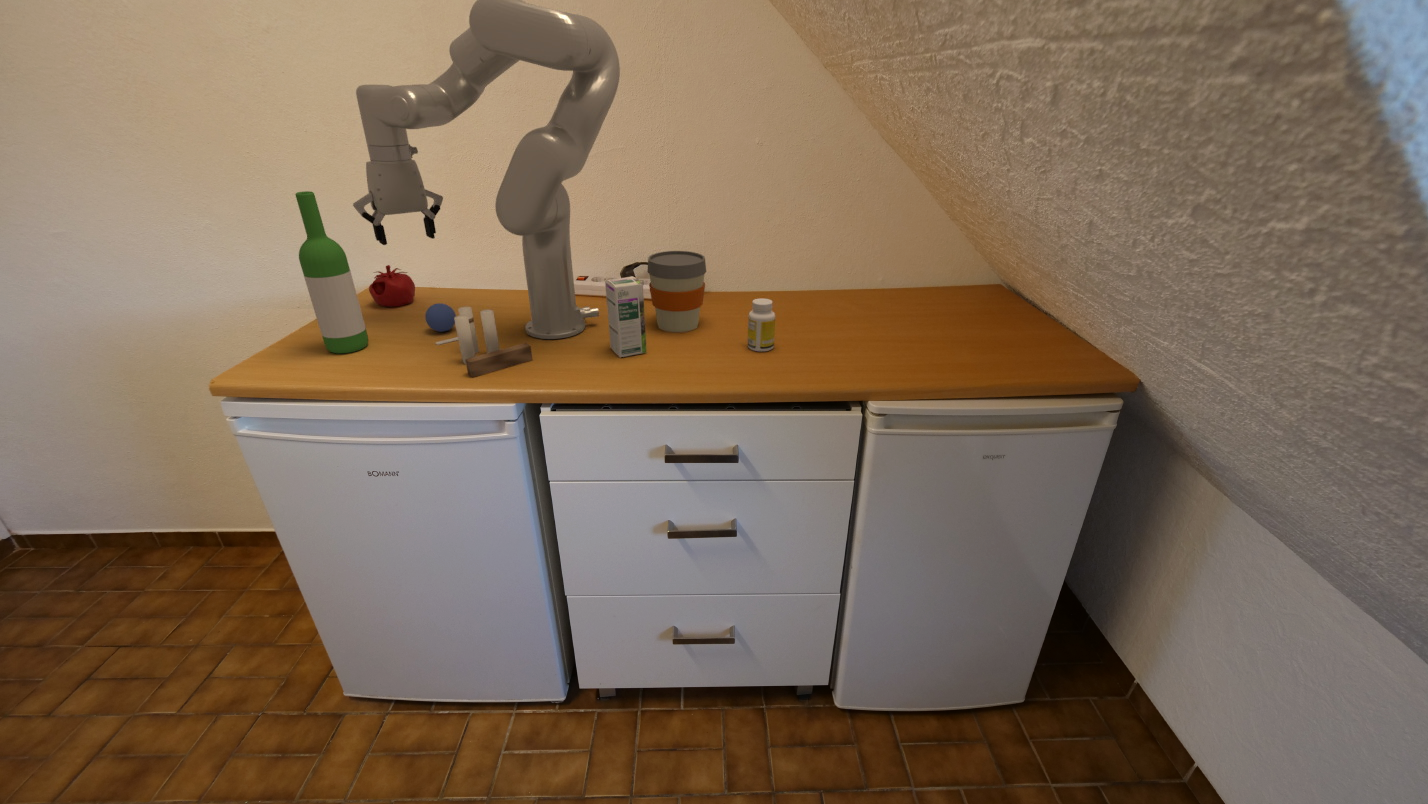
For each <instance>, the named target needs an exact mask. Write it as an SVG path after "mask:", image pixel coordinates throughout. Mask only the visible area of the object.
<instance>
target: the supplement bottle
mask: <svg viewBox="0 0 1428 804" xmlns="http://www.w3.org/2000/svg"><path fill="white" fill-rule="evenodd" d="M773 303H774V302H773V300H772V299H769V298H755V299H753V300H752V305H751V307H752V310H750V312H749V313H748V317H747V319H748V321H747V323H748V324H747V347H748V349H750V350H751V351H755V352H763V353H764V352H768V351H772V350H773V349H774V346H775V332H776V331H775V330H776V313H775V312H774V311H773Z"/></svg>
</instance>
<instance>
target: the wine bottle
mask: <svg viewBox="0 0 1428 804" xmlns="http://www.w3.org/2000/svg"><path fill="white" fill-rule="evenodd" d="M294 195H295V198H296V202H297V205H298V208H299V213H300V216H301V218H302V219H301V220H302V223H303V226H304V229H305V233H306V239H305V241H304V242H303V243H302V244H301V246H300V248H299V251H298V260H299V264H300V266H301V270H302V274H303V277H304V281H305V284H306V287H307V291H308V294H309V298H310V301H311V304H312V308H313V311H314V314H315V317H316V321H317V324H318V328H319V330H320V331H319V332H320V333H321V337H322V339H323V343H324V345H325V348H326V350H327V351H329V352H330V353H333V354H351V353H354V352H357V351H360V350H362V349H364V348H366V347H367V346H368V344H369V335H368V331H367V328H366V323H365V320H364V317H363V312H362V309H361V305H360V302H359V298H358V295H357V294H358V293H357V290H356V287H355V283H354V280H353V276H352V272H351V269H350V265H349V262H348V258H347V257H348V256H347V255H346V252H345V251H344V249H343V247H342V246H341V245H340V244H339V243H338V242H337V241H336V240H334V239H333V238H330V237H329V236H328V235H327V234H326V229H325V226H324V223H323V220H322V216H321V213H320V210H319V205H318V201H317V199H316V195H315V193H314V192H313V191H310V190H309V191H307V190H306V191H299V192H296V193H295V194H294Z"/></svg>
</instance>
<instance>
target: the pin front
mask: <svg viewBox="0 0 1428 804" xmlns="http://www.w3.org/2000/svg"><path fill="white" fill-rule="evenodd" d="M457 311H458V314H459V315H458V316H460V315H466V316H468V320H469V325H470V331H471V336H472V342H473V347H474V352H475V354H478V353H479V352H480V348H479V343H478V337H477V333H476V331H477V330H476V327H475V319H474V316H473V315H474V314H473V310H472V307H470V306H460V307H458V309H457Z"/></svg>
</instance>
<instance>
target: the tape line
mask: <svg viewBox="0 0 1428 804" xmlns="http://www.w3.org/2000/svg"><path fill="white" fill-rule="evenodd" d="M455 341H459V340H458V336H456V337H452V338H447V339H444V340H440V341H436V342H435V345H436V346H440V345H443V344H447V343H452V342H455Z"/></svg>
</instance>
